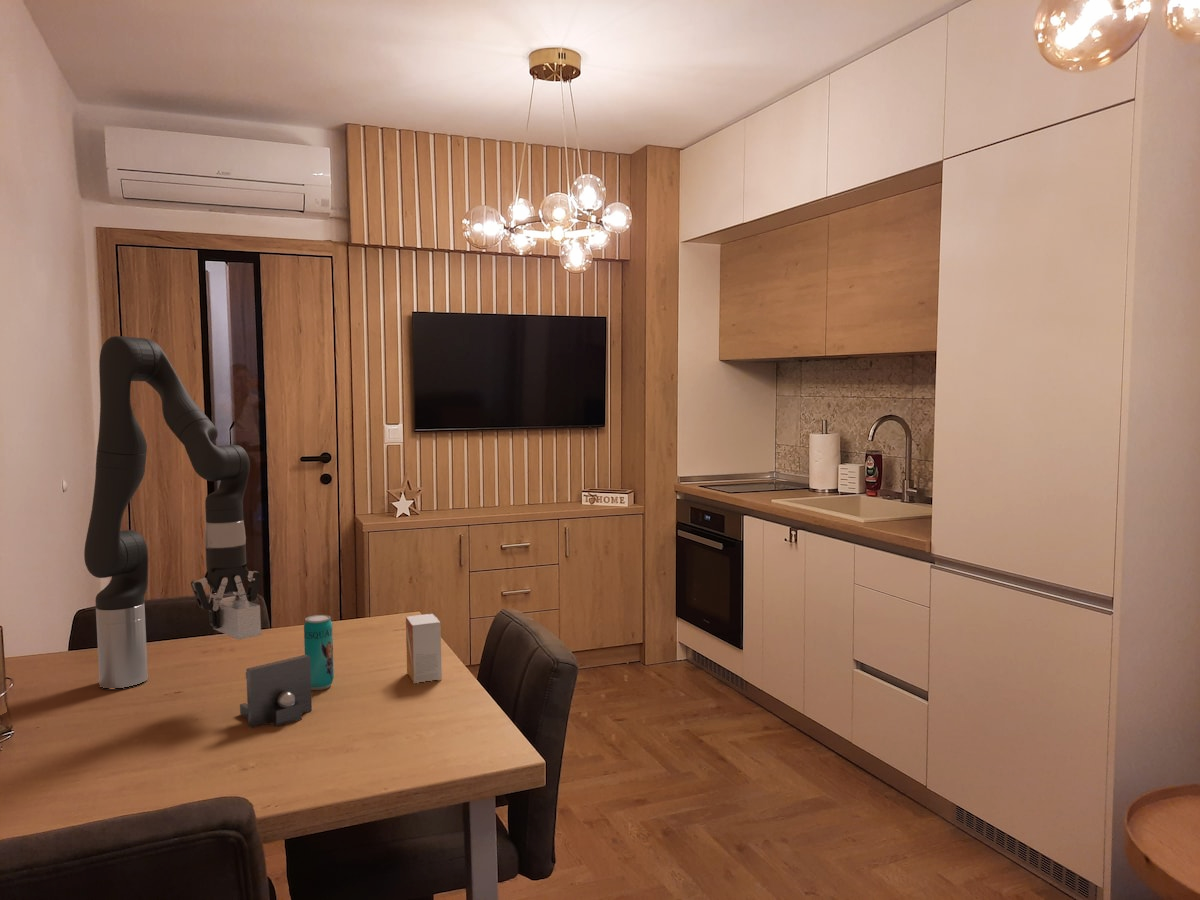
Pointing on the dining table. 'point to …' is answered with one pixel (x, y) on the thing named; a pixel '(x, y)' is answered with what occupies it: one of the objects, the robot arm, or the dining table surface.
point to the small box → (423, 648)
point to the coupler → (278, 692)
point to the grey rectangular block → (239, 618)
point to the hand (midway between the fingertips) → (228, 625)
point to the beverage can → (319, 650)
